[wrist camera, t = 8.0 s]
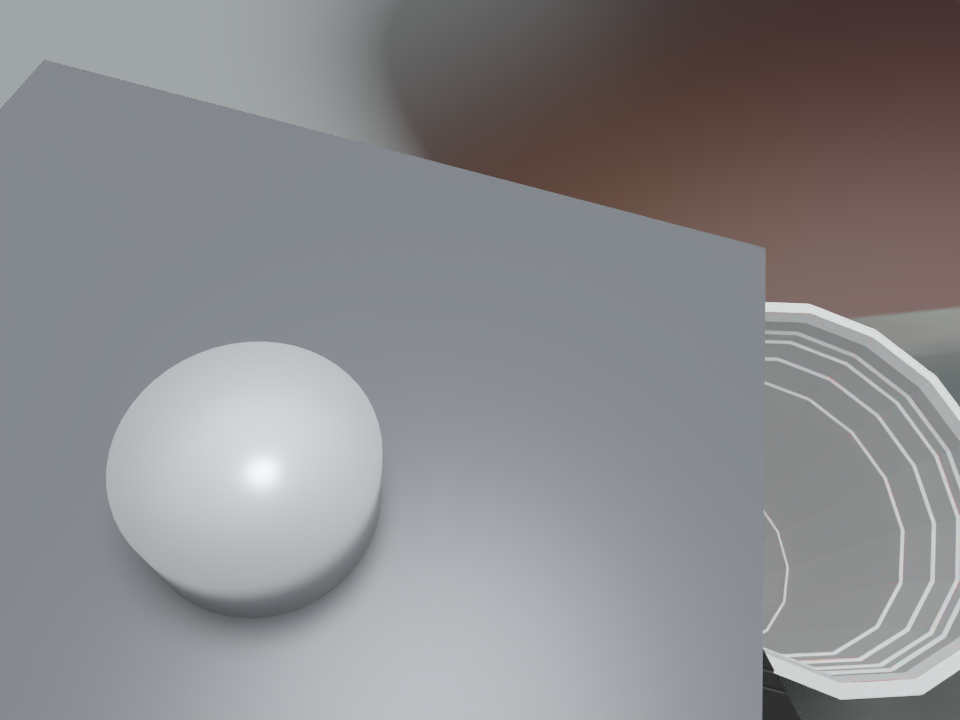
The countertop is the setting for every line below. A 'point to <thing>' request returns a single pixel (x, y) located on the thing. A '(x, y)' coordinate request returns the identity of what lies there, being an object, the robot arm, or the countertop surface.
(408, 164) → the grey knobbed cube
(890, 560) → the plastic cup
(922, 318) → the countertop surface
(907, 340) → the countertop surface
